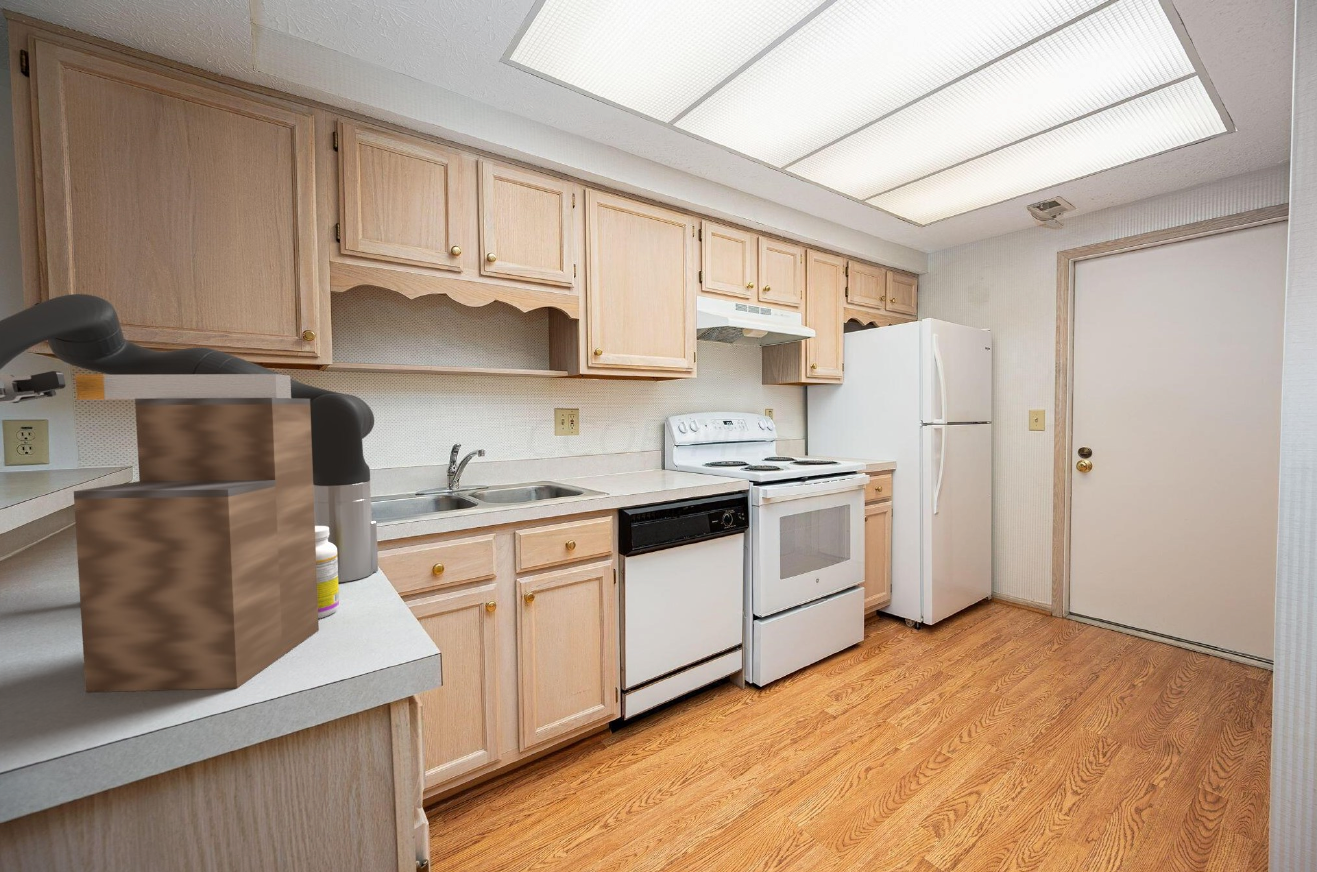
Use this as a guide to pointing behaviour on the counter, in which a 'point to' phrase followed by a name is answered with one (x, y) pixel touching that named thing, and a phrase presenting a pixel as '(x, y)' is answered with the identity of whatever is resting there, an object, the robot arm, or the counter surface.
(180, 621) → the stand
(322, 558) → the supplement bottle
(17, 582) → the counter surface
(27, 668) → the counter surface
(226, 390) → the bar
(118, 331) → the robot arm
